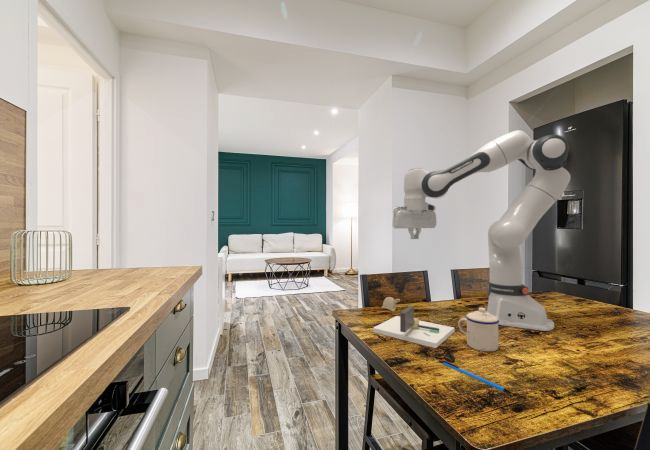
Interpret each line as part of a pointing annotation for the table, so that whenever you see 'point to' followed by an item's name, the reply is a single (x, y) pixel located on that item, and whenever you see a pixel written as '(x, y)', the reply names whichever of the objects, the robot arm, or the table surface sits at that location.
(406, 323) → the tuning peg
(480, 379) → the pen
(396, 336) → the white rectangular slab
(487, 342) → the teacup with lid
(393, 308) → the decorative ornament
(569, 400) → the table surface
